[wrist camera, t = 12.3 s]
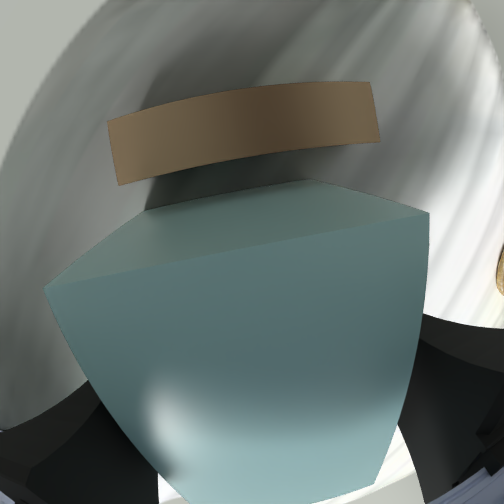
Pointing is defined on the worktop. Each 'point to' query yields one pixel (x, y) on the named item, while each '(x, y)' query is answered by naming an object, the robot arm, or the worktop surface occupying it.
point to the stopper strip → (241, 126)
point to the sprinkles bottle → (501, 275)
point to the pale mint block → (254, 337)
